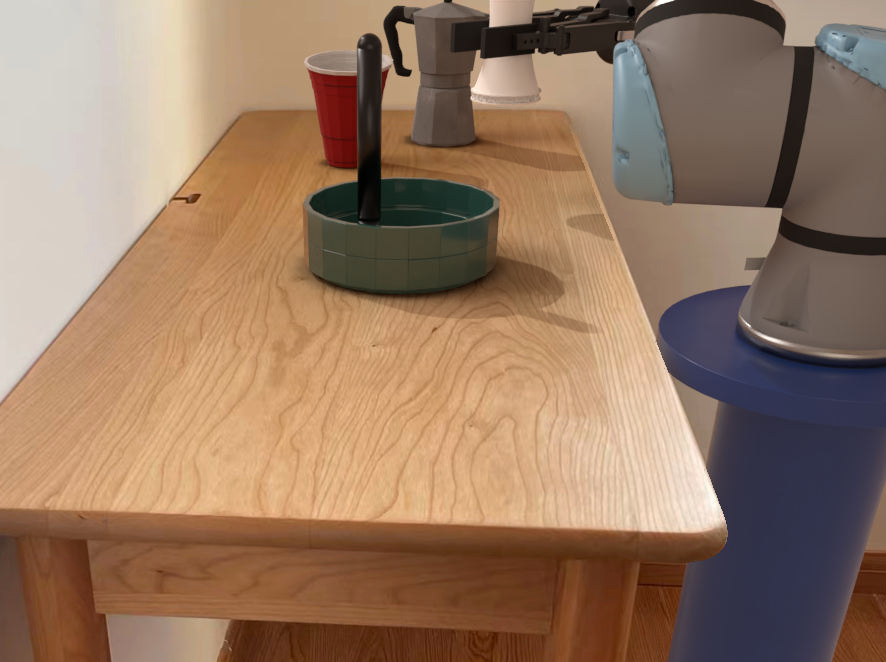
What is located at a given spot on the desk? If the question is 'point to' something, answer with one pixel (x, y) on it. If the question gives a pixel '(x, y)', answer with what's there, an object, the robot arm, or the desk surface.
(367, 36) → the black stick
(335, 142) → the plastic cup
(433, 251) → the bowl
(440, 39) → the coffeepot
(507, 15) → the vase
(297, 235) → the desk surface
